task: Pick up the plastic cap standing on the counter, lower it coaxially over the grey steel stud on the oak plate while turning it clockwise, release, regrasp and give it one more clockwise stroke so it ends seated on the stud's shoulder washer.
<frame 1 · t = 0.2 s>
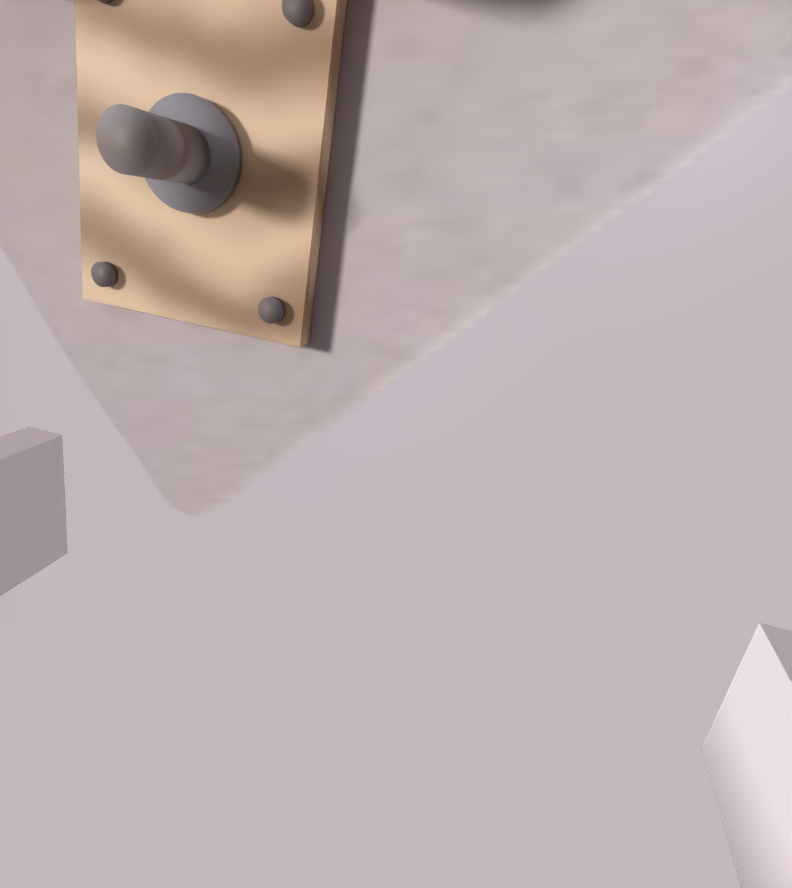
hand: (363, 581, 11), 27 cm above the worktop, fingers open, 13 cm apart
stud plate: (206, 159, 37), on the worktop
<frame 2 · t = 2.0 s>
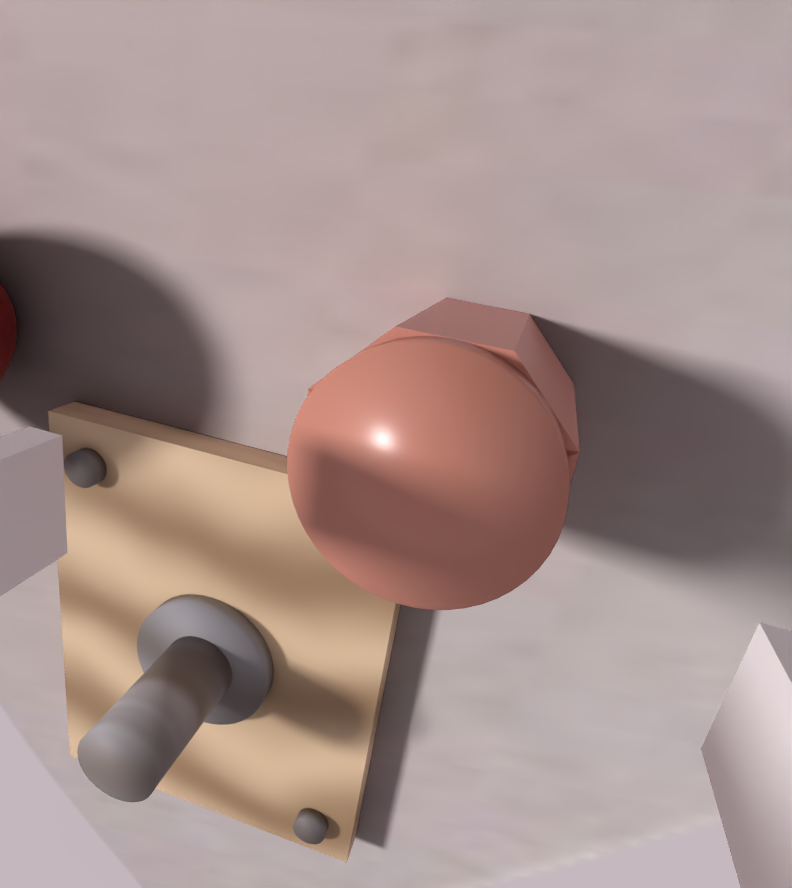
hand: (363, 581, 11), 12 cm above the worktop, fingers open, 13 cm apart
stud plate: (226, 634, 29), on the worktop
cap: (467, 401, 22), on the worktop
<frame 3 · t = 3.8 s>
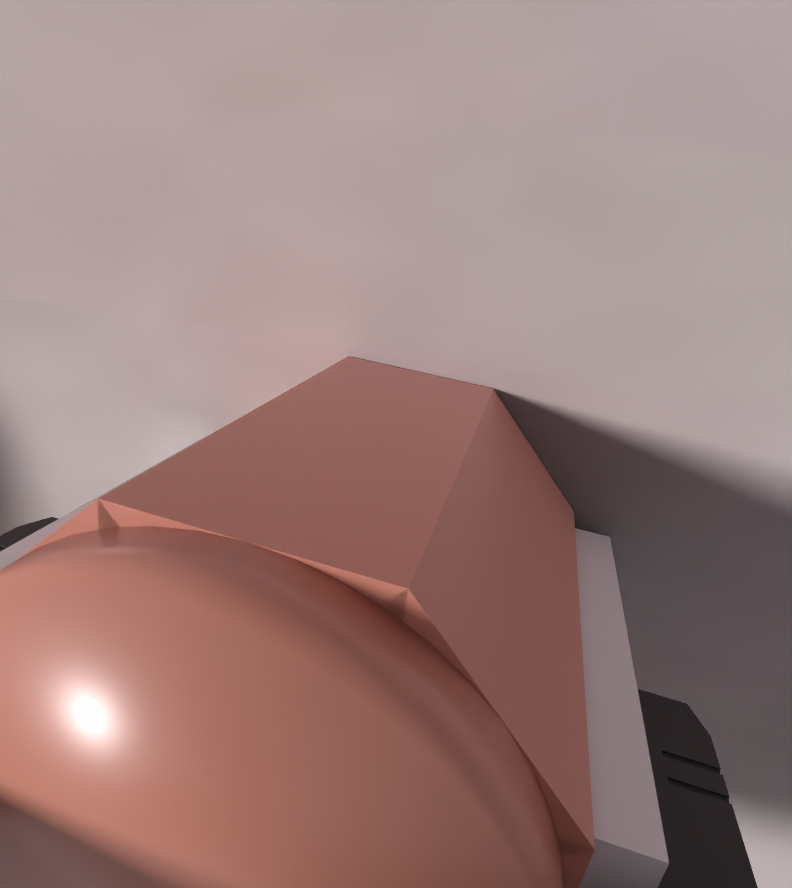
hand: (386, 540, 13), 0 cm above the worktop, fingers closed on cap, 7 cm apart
cap: (390, 529, 13), on the worktop, touching gripper
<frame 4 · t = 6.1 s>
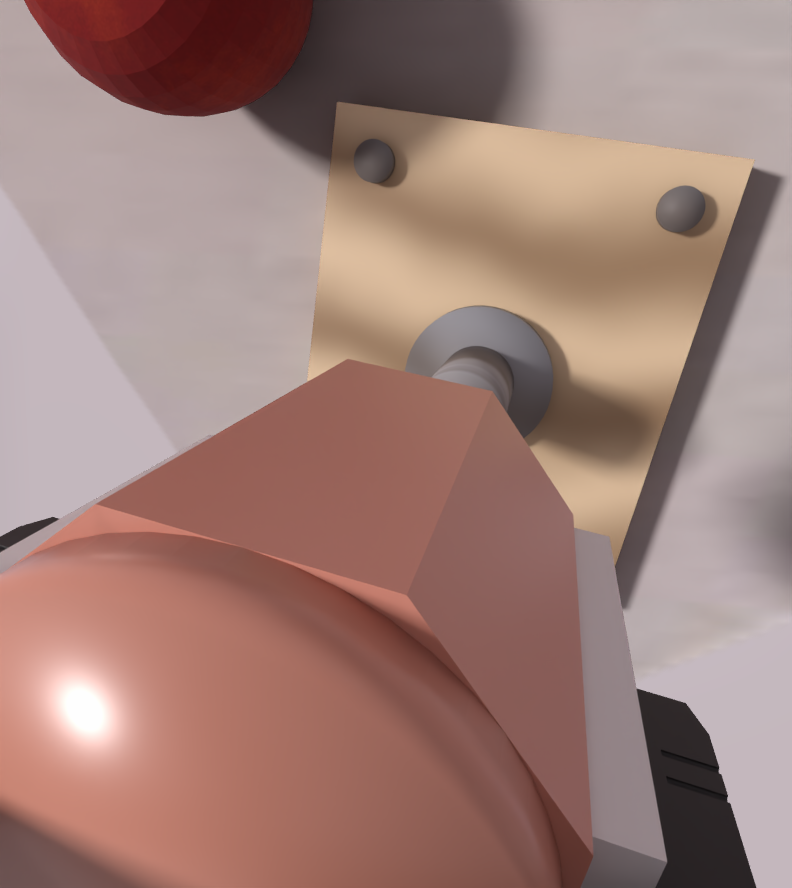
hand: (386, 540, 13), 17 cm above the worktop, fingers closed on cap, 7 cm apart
stud plate: (482, 371, 28), on the worktop
apple: (250, 16, 26), on the worktop
cap: (390, 531, 13), point 17 cm above the worktop, touching gripper
when the fingers open (4 cm above the worktop, at t = 8.4 s): cap drops 1 cm, resting on stud plate.
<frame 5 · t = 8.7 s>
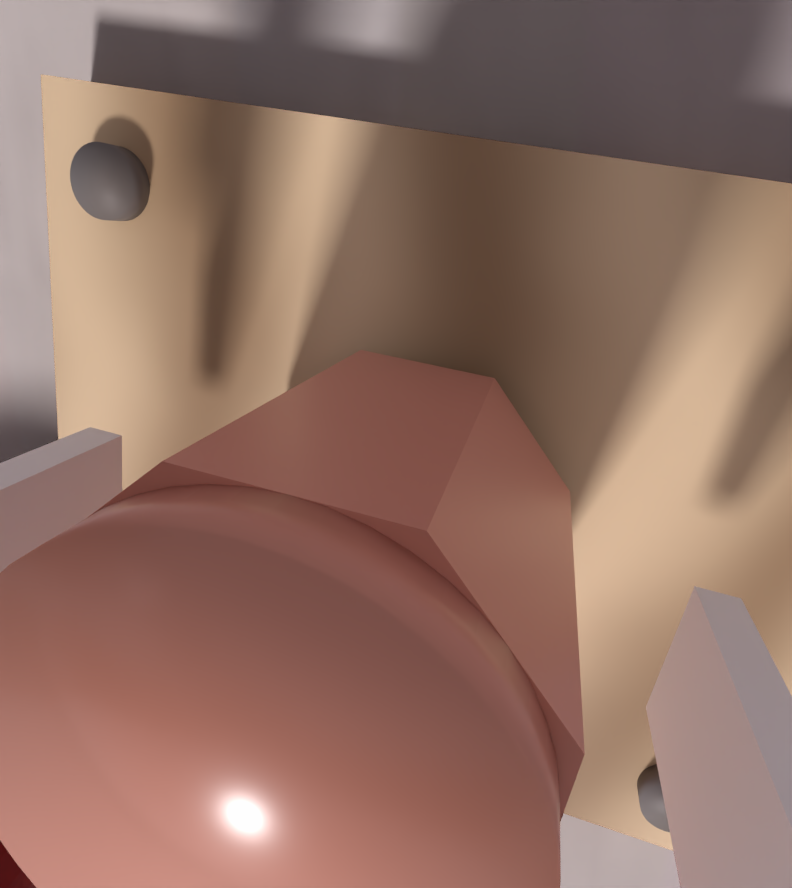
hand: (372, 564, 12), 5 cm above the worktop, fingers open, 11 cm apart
stud plate: (421, 478, 16), on the worktop
apple: (39, 697, 23), on the worktop
cap: (400, 511, 14), point 2 cm above the worktop, touching stud plate
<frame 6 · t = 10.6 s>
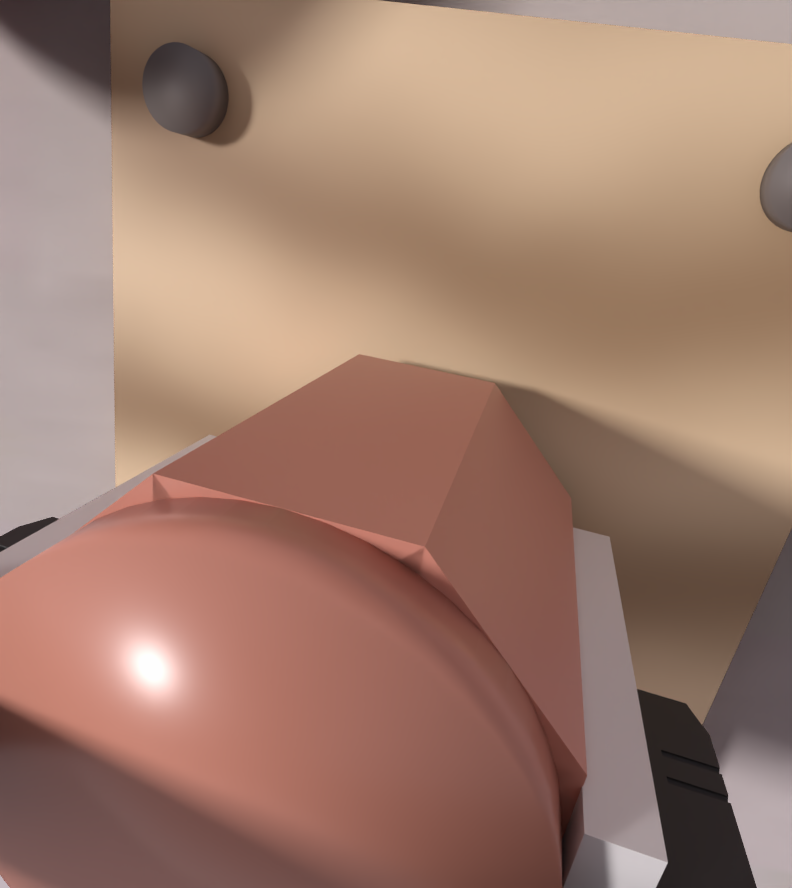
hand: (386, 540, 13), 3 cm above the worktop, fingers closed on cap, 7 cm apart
stud plate: (418, 480, 16), on the worktop
cap: (399, 517, 14), point 2 cm above the worktop, touching gripper, stud plate
when the fingers open (3 cm above the worktop, at t = 11.9 s): cap stays where it is, resting on stud plate.
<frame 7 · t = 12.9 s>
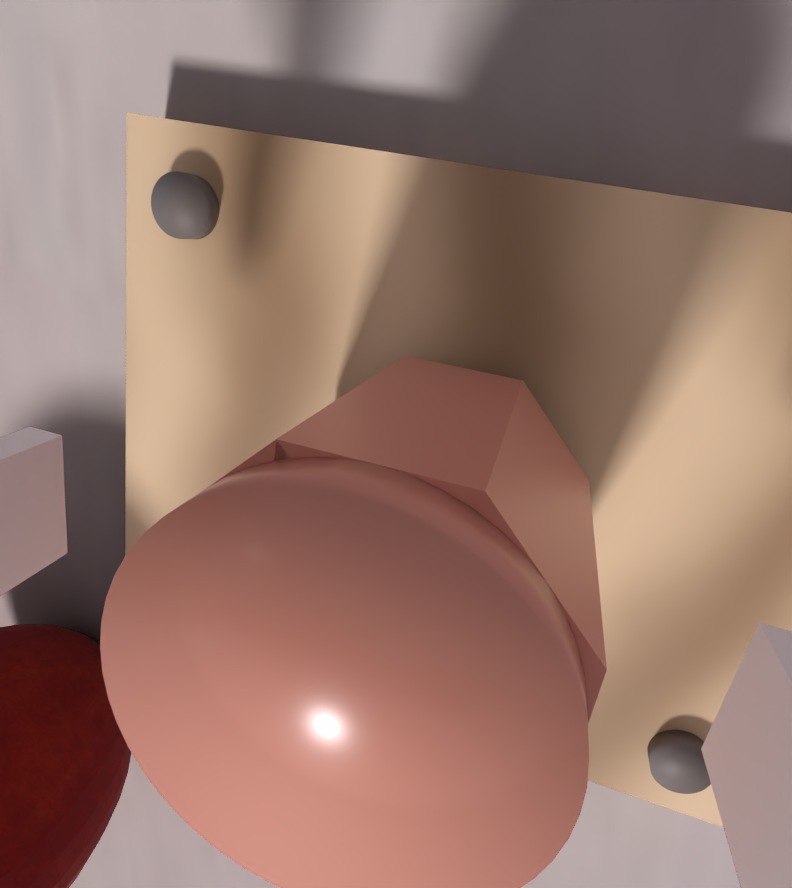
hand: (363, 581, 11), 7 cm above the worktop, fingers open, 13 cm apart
stud plate: (452, 470, 18), on the worktop
apple: (91, 674, 25), on the worktop
cap: (437, 498, 15), point 2 cm above the worktop, touching stud plate
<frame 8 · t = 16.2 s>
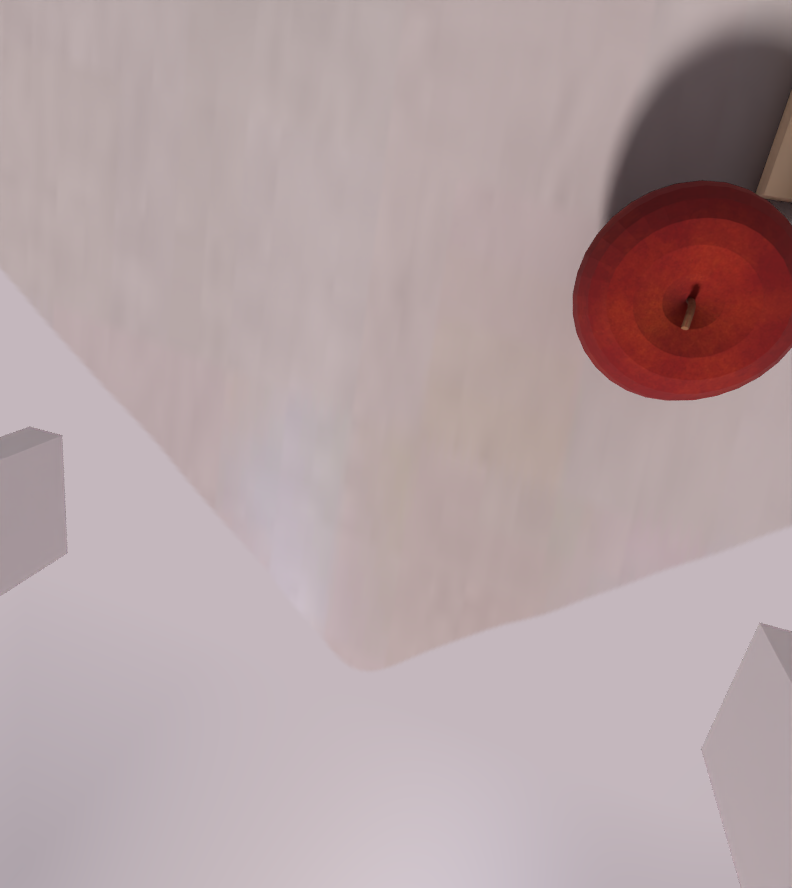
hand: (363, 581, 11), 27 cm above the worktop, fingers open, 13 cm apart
apple: (660, 286, 33), on the worktop
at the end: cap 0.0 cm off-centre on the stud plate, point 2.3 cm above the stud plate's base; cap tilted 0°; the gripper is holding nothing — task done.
